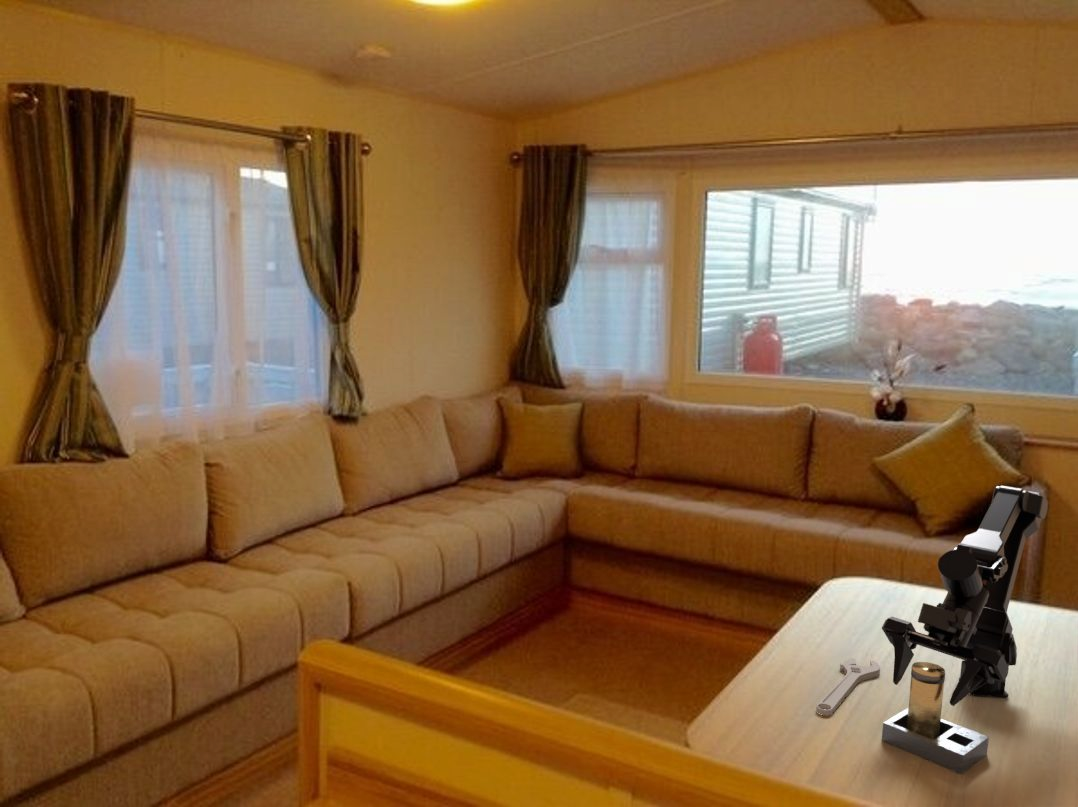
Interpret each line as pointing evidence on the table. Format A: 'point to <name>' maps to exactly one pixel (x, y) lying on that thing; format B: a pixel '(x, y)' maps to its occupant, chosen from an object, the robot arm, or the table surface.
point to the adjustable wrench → (846, 684)
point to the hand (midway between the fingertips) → (922, 693)
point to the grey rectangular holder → (938, 743)
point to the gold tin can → (926, 699)
